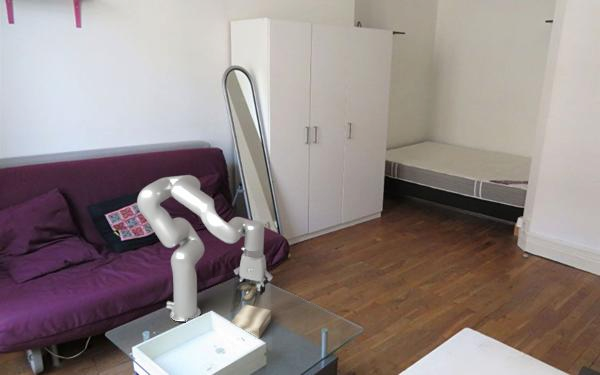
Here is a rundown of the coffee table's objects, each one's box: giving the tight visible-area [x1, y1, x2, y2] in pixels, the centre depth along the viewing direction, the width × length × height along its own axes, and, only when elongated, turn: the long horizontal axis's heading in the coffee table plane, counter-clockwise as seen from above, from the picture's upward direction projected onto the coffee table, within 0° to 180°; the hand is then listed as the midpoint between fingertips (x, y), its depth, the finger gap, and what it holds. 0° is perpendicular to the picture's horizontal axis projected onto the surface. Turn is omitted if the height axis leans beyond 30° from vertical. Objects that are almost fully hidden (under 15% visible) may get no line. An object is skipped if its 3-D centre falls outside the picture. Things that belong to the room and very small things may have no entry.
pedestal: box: [230, 304, 272, 339], centre depth 194 cm, size 12×14×5 cm
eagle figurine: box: [236, 280, 261, 302], centre depth 188 cm, size 8×7×9 cm
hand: (252, 291), depth 190 cm, fingers closed on eagle figurine, 7 cm apart
